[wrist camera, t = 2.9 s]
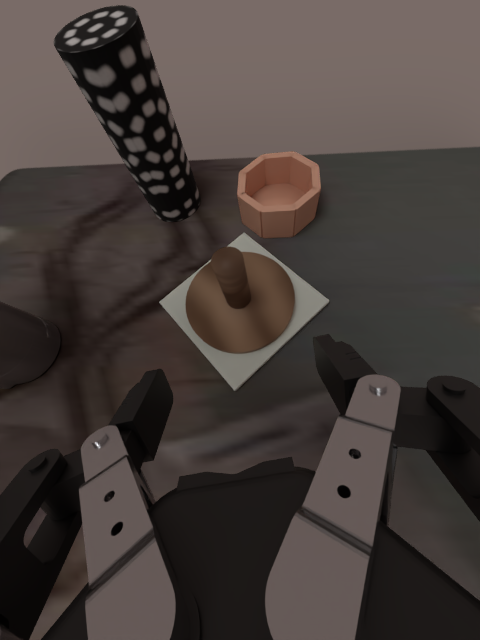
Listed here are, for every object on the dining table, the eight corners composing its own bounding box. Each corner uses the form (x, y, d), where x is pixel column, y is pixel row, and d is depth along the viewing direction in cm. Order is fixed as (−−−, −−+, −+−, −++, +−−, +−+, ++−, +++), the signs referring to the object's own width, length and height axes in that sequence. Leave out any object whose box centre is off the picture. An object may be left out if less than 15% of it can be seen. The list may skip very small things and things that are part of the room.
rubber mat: (235, 391, 28) (234, 390, 27) (161, 304, 34) (159, 302, 33) (328, 303, 30) (329, 300, 30) (244, 236, 36) (243, 232, 35)
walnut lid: (235, 378, 28) (217, 363, 19) (168, 302, 33) (131, 263, 24) (317, 300, 30) (334, 256, 21) (243, 240, 35) (233, 184, 26)
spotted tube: (174, 230, 38) (81, 61, 20) (144, 207, 41) (39, 40, 23) (210, 198, 40) (155, 13, 21) (179, 178, 43) (107, 0, 24)
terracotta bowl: (277, 250, 34) (278, 225, 30) (228, 212, 38) (222, 184, 34) (329, 205, 36) (337, 175, 31) (277, 173, 40) (277, 142, 35)
